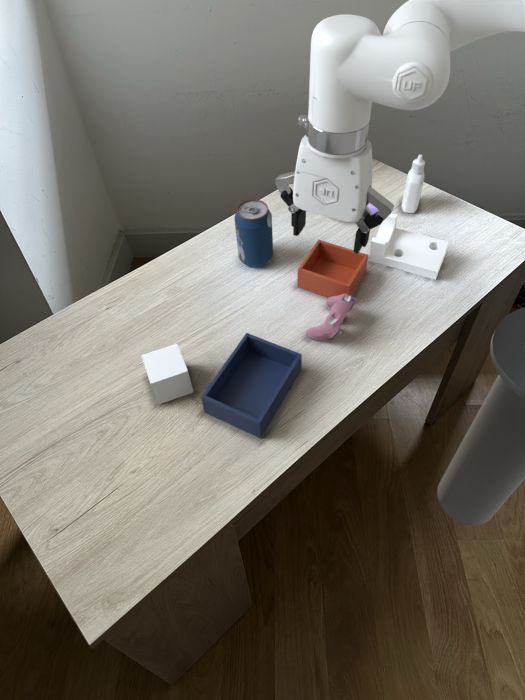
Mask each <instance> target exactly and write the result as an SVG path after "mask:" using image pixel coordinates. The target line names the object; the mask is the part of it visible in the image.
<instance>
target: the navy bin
mask: <svg viewBox="0 0 525 700" xmlns="http://www.w3.org/2000/svg"><path fill="white" fill-rule="evenodd" d="M302 356H303V354H302V353H300V352H298V351H294V350H292V349H289V348H287V347H284V346H282V345H279V344H276V343H274V342H272V341H269V340H266V339H264V338H261V337H259V336H256V335H254V334H251V333H248V332H246V333H245V334H244V335H243V336H242V338H241V340H240V341H239V343H238V344H237V345H236V347H235V348H234V349H233V351H232V352H231V354H230V355H229V357H228V358H227V360H225V362H224V364H223V366H221V368H220V369H219V371H218V372H217V373H216V375H215V377H214V378H213V379H212V380H211V382H210V383H209V385H208V386H207V387H206V389H205V390H204V392H203V393H202V395H201V396H200V400H201V404H202V407H203V411H204V414H207V415H208V416H211V417H213V418H215V419H218V420H219V421H222V422H224V423H225V424H228V425H231V426H232V427H235V428H237V429H240V430H241V431H243V432H245V433H248V434H250V435H252V436H254V437H257V438H258V439H262V438H263V436H264V435H265V433H266V431H267V430H268V428H269V426H270V425H271V423H272V421H273V419H274V418H275V416H276V415H277V413H278V411H279V409H280V408H281V406H282V404H283V403H284V401H285V400H286V397H287V396H288V395H289V393H290V391H291V389H292V388H293V386H294V384H295V383H296V381H297V379H298V378H299V377H300V374H301V373H302V365H303V364H302V363H303V361H302V359H303V357H302Z"/></svg>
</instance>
